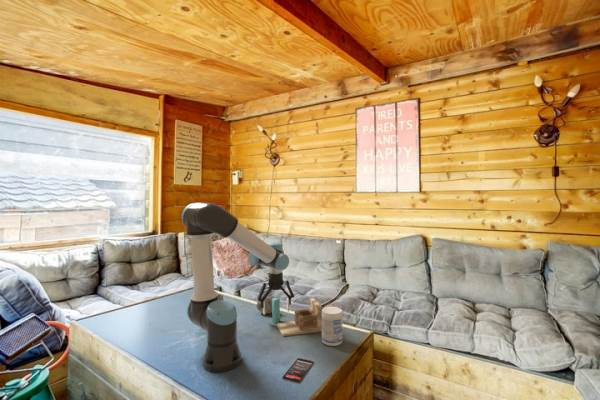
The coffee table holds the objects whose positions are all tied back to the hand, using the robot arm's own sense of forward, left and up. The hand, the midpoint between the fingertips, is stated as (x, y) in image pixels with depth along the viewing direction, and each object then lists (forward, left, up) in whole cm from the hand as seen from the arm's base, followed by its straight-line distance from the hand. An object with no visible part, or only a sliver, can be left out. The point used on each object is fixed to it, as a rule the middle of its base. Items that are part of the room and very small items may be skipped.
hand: (276, 312), depth 161 cm
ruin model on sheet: (+33, +31, -6) cm, 46 cm away
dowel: (0, 0, -5) cm, 5 cm away
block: (-11, -13, -4) cm, 17 cm away
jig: (-11, -9, -5) cm, 15 cm away
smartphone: (-46, +1, -6) cm, 46 cm away
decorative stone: (+13, +3, -5) cm, 14 cm away
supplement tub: (-29, -20, -5) cm, 36 cm away
